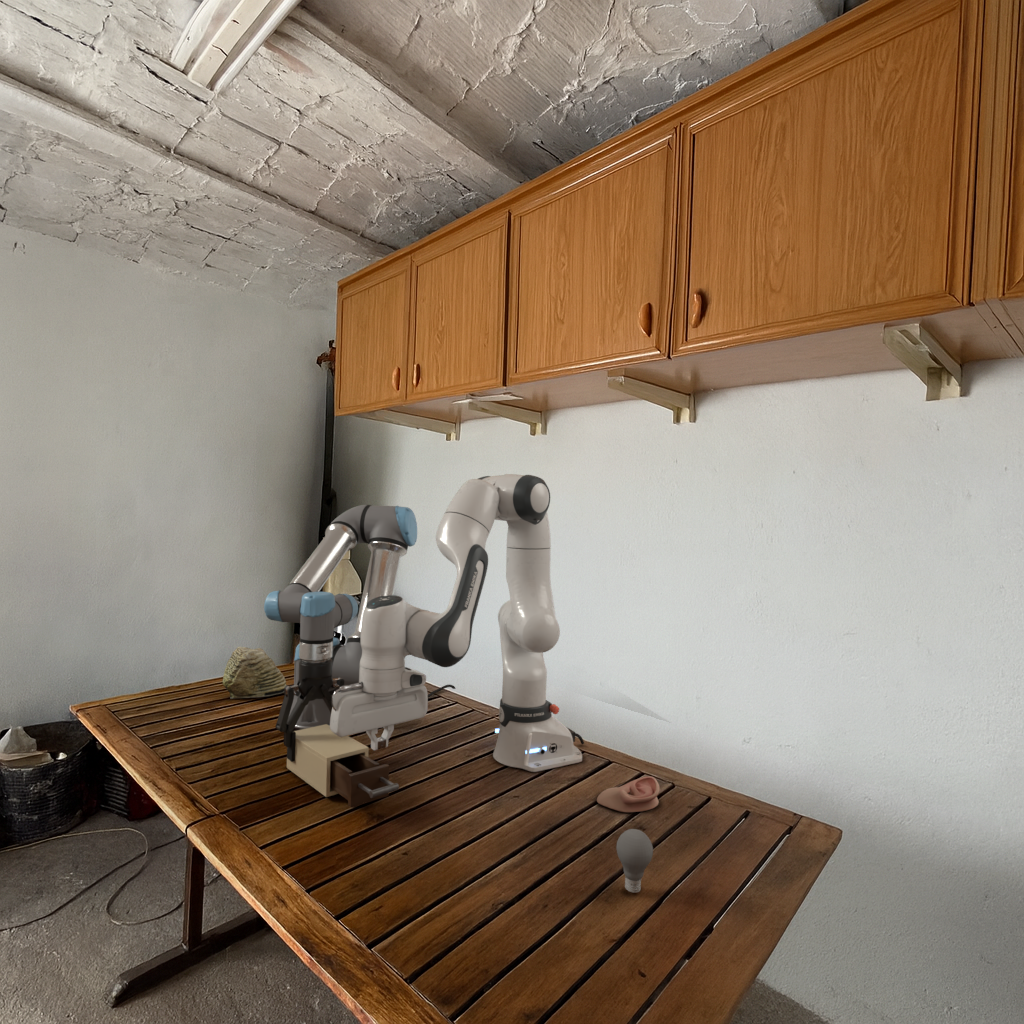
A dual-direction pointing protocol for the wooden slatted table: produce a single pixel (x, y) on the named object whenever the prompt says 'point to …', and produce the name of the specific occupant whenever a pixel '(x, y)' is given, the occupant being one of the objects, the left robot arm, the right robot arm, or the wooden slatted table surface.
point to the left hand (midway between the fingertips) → (312, 754)
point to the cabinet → (321, 755)
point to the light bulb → (634, 857)
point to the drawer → (360, 779)
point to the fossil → (252, 674)
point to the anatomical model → (632, 795)
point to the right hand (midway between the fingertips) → (379, 748)
